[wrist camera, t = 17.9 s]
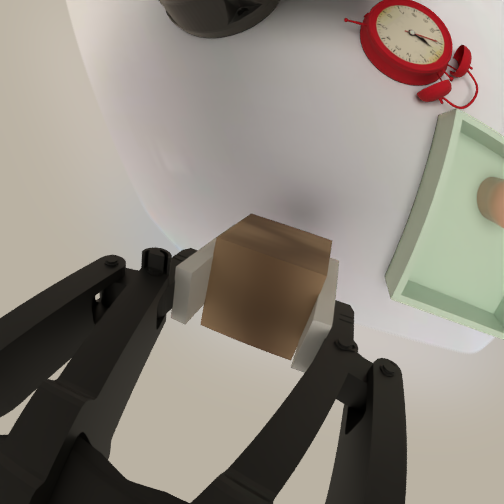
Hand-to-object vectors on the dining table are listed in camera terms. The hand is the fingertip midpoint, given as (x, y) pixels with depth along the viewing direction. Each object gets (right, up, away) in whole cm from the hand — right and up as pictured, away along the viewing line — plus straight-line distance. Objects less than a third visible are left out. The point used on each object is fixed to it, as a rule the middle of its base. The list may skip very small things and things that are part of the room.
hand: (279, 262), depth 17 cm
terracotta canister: (+25, +7, +6) cm, 27 cm away
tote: (+25, +3, +8) cm, 26 cm away
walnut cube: (0, 0, +1) cm, 1 cm away
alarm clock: (+16, +22, +4) cm, 28 cm away
